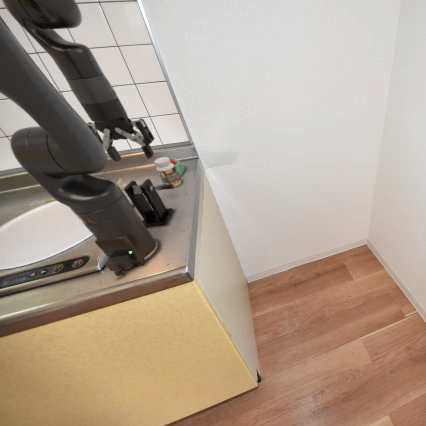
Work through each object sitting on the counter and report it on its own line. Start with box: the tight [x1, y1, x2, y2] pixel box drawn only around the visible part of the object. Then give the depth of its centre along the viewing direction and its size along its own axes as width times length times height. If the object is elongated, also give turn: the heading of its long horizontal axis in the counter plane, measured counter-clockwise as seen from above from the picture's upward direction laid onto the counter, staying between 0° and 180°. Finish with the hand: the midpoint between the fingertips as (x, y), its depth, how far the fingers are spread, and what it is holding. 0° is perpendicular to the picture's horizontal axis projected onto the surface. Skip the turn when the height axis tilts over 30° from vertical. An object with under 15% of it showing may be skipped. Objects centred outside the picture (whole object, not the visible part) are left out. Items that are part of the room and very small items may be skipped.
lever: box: [132, 184, 175, 195], centre depth 73 cm, size 15×5×2 cm, turn 8°
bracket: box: [123, 178, 175, 228], centre depth 69 cm, size 7×7×13 cm
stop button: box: [169, 158, 176, 165], centre depth 93 cm, size 3×3×2 cm
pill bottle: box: [154, 156, 182, 188], centre depth 86 cm, size 6×6×10 cm
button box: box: [174, 159, 186, 177], centre depth 95 cm, size 7×6×4 cm
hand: (134, 158), depth 67 cm, fingers open, 8 cm apart
